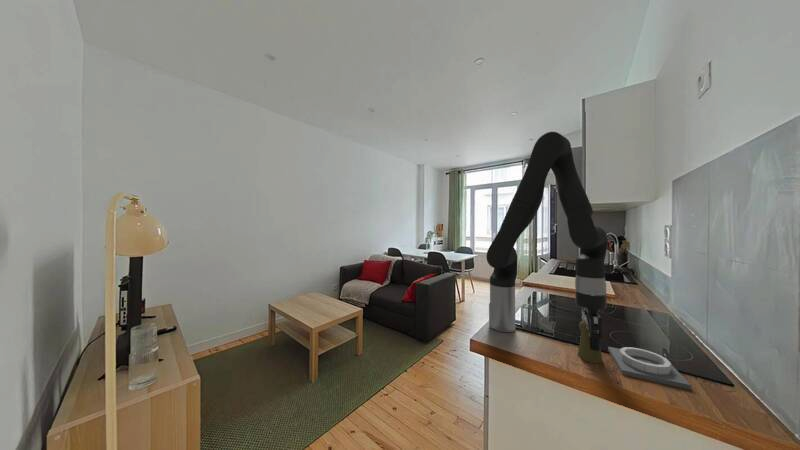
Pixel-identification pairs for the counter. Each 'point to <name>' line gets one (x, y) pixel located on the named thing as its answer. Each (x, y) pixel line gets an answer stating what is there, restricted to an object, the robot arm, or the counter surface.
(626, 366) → the stand
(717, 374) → the counter surface
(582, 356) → the cork
